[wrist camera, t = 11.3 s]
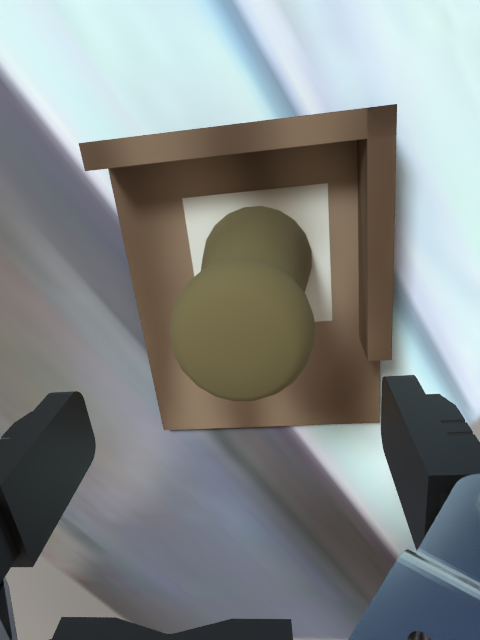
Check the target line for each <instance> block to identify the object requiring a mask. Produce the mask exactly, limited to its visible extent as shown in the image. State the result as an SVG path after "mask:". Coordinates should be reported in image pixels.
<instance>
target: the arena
mask: <svg viewBox="0 0 480 640" xmlns="http://www.w3.org/2000/svg"><path fill="white" fill-rule="evenodd" d="M396 125H397V104H394V105H386V106H378V107H370V108H362V109H354V110H346V111H338V112H329V113H321V114H313V115H305V116H297V117H289V118H281V119H273V120H265V121H257V122H248V123H240V124H232V125H224V126H216V127H208V128H200V129H192V130H184V131H176V132H167V133H159V134H151V135H143V136H135V137H127V138H119V139H111V140H103V141H95V142H86V143H79V147H80V151H81V155H82V160H83V164H84V168H85V171H90V170H98V169H107V168H108V170H109V174H110V179H111V184H112V188H113V193H114V198H115V203H116V207H117V212H118V217H119V221H120V226H121V231H122V236H123V240H124V245H125V250H126V254H127V259H128V264H129V269H130V273H131V278H132V283H133V287H134V292H135V297H136V301H137V306H138V311H139V316H140V320H141V325H142V330H143V334H144V339H145V344H146V349H147V353H148V358H149V363H150V367H151V372H152V377H153V381H154V386H155V391H156V396H157V400H158V405H159V410H160V414H161V419H162V424H163V429H164V430H183V429H211V428H239V427H267V426H295V425H323V424H351V423H379V422H380V360H391V359H392V312H393V265H394V218H395V171H396ZM253 206H264V207H268V208H272V209H276V210H280V211H281V212H283V213H284V214H286V215H288V216H289V217H291V218H292V219H294V220H295V221H296V222H297V224H298V225H299V226H300V227H301V229H302V230H303V231H304V232H305V234H306V236H307V239H308V242H309V245H310V247H311V250H312V268H311V272H310V276H309V279H308V283H307V286H306V290H305V294H306V296H307V299H308V302H309V304H310V307H311V309H312V312H313V315H314V322H315V343H314V346H313V348H312V351H311V354H310V357H309V360H308V363H307V365H306V367H305V368H304V370H303V371H302V372H301V373H300V375H299V376H298V377H297V379H296V380H295V381H294V382H293V383H292V384H291V385H289V386H288V387H286V388H285V389H283V390H282V391H280V392H279V393H277V394H275V395H272V396H269V397H265V398H262V399H259V400H255V401H231V400H227V399H223V398H219V397H215V396H214V395H212V394H210V393H208V392H207V391H205V390H203V389H201V388H200V387H198V386H197V385H196V384H195V383H194V382H193V381H192V380H191V379H190V378H189V377H188V376H187V375H186V374H185V373H184V372H183V371H182V369H181V367H180V365H179V363H178V361H177V359H176V357H175V356H174V354H173V350H172V343H171V337H170V322H171V317H172V312H173V306H174V304H175V302H176V301H177V299H178V297H179V296H180V294H181V292H182V291H183V289H184V287H185V286H186V284H187V283H188V282H189V281H190V280H191V279H192V278H194V277H195V276H196V275H197V274H198V273H199V272H201V265H202V258H203V253H204V248H205V243H206V239H207V238H208V236H209V234H210V233H211V231H212V229H213V227H214V226H215V225H216V224H217V223H218V222H219V221H220V220H221V219H223V218H224V217H225V216H226V215H227V214H229V213H231V212H234V211H236V210H239V209H241V208H243V207H253Z"/></svg>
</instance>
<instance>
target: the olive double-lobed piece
mask: <svg viewBox="0 0 480 640" xmlns="http://www.w3.org/2000/svg"><path fill="white" fill-rule="evenodd" d="M311 268H312V250H311V247H310V245H309V242H308V239H307V236H306V234H305V232H304V231H303V230H302V229H301V227H300V226H299V225H298V224H297V222H296V221H295V220H294V219H292V218H291V217H289V216H288V215H286V214H284V213H283V212H281V211H280V210H276V209H272V208H268V207H264V206H253V207H243V208H241V209H239V210H236V211H234V212H231V213H229V214H227V215H226V216H225V217H224V218H223V219H221V220H220V221H219V222H218V223H217V224H216V225H215V226H214V227H213V229H212V231H211V233H210V234H209V236H208V238H207V239H206V243H205V248H204V253H203V258H202V265H201V272H199V273H198V274H197V275H196V276H195V277H194V278H192V279H191V280H190V281H189V282H188V283H187V284H186V286H185V287H184V289H183V291H182V292H181V294H180V296H179V297H178V299H177V301H176V302H175V304H174V306H173V312H172V317H171V322H170V337H171V343H172V350H173V354H174V356H175V357H176V359H177V361H178V363H179V365H180V367H181V369H182V371H183V372H184V373H185V374H186V375H187V376H188V377H189V378H190V379H191V380H192V381H193V382H194V383H195V384H196V385H197V386H198V387H200V388H201V389H203V390H205V391H207V392H208V393H210V394H212V395H214V396H215V397H219V398H223V399H227V400H231V401H255V400H259V399H262V398H265V397H269V396H272V395H275V394H277V393H279V392H280V391H282V390H283V389H285V388H286V387H288V386H289V385H291V384H292V383H293V382H294V381H295V380H296V379H297V377H298V376H299V375H300V373H301V372H302V371H303V370H304V368H305V367H306V365H307V363H308V360H309V357H310V354H311V351H312V348H313V346H314V343H315V322H314V315H313V312H312V309H311V307H310V304H309V302H308V299H307V296H306V294H305V290H306V286H307V283H308V279H309V276H310V272H311Z"/></svg>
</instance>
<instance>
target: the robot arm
mask: <svg viewBox="0 0 480 640" xmlns="http://www.w3.org/2000/svg"><path fill="white" fill-rule="evenodd" d="M381 436H382V444H383V449H384V453H385V456H386V459H387V462H388V465H389V468H390V471H391V474H392V477H393V481H394V484H395V487H396V490H397V493H398V496H399V499H400V502H401V505H402V508H403V511H404V514H405V517H406V520H407V523H408V526H409V529H410V532H411V535H412V538H413V541H414V544H415V547H416V550H417V551H416V552H415V553H414V552H412V551H410V550H405V551H403V552H402V553H401V555H400V556H399V557H398V559H397V560H396V562H395V563H394V565H393V567H392V568H391V570H390V572H389V573H388V575H387V577H386V578H385V580H384V582H383V583H382V585H381V586H380V588H379V590H378V591H377V593H376V595H375V596H374V598H373V600H372V601H371V603H370V604H369V606H368V608H367V609H366V611H365V613H364V614H363V616H362V618H361V619H360V621H359V623H358V624H357V626H356V627H355V629H354V631H353V632H352V634H351V636H350V637H349V639H348V640H480V442H479V441H478V439H477V438H476V436H475V435H473V432H472V430H471V428H470V427H469V425H468V424H467V423H465V419H464V418H463V416H462V414H461V413H460V411H459V410H458V408H457V407H456V405H454V404H453V403H451V402H450V401H448V400H447V399H446V398H444V397H443V396H441V395H440V394H427V395H426V394H425V392H424V390H423V389H422V387H421V385H420V383H419V382H418V380H417V378H416V377H415V376H414V375H407V376H387V377H383V380H382V403H381ZM94 455H95V437H94V433H93V430H92V426H91V423H90V419H89V416H88V412H87V408H86V405H85V401H84V398H83V396H82V394H81V393H80V392H77V391H76V392H56V393H50V394H48V395H47V396H46V397H45V398H44V399H43V401H42V402H41V403H40V404H39V405H38V406H37V407H36V409H35V410H34V411H33V412H30V413H28V414H27V415H26V416H24V417H23V418H21V419H20V420H18V421H17V422H15V423H14V424H13V425H12V426H11V427H10V428H9V429H8V430H7V431H6V432H5V434H4V435H3V436H2V439H0V640H17V633H16V628H15V621H14V615H13V609H12V603H11V597H10V591H9V586H8V583H7V581H6V578H5V576H6V574H7V573H8V571H9V569H10V567H33V566H34V564H35V562H36V561H37V559H38V557H39V555H40V554H41V552H42V550H43V548H44V546H45V545H46V543H47V541H48V539H49V538H50V536H51V534H52V532H53V530H54V529H55V527H56V525H57V523H58V522H59V520H60V518H61V516H62V514H63V513H64V511H65V509H66V507H67V506H68V504H69V502H70V500H71V498H72V497H73V495H74V493H75V491H76V490H77V488H78V486H79V484H80V483H81V481H82V479H83V477H84V475H85V474H86V472H87V470H88V468H89V467H90V465H91V463H92V461H93V458H94ZM50 640H293V634H292V623H291V619H229V620H226V621H222V622H218V623H214V624H210V625H206V626H202V627H198V628H194V629H190V630H186V631H183V632H179V633H174V634H166V633H162V632H159V631H156V630H153V629H149V628H146V627H143V626H140V625H137V624H134V623H131V622H128V621H124V620H121V619H118V618H97V617H62V618H61V620H60V622H59V624H58V627H57V629H56V631H55V633H54V636H53V638H52V639H50Z"/></svg>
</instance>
